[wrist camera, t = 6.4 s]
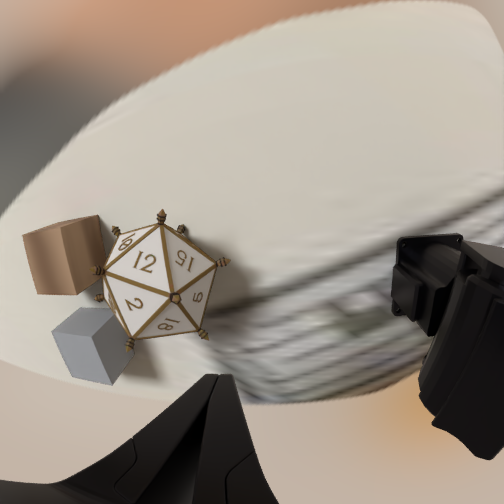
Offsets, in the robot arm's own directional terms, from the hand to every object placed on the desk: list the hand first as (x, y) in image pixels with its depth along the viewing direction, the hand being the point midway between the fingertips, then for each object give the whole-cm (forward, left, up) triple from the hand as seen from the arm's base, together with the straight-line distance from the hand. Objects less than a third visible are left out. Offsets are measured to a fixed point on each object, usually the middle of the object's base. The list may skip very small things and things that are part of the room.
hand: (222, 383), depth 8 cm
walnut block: (+15, -2, -13) cm, 20 cm away
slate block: (+15, +7, -13) cm, 21 cm away
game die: (+6, 0, -13) cm, 15 cm away
